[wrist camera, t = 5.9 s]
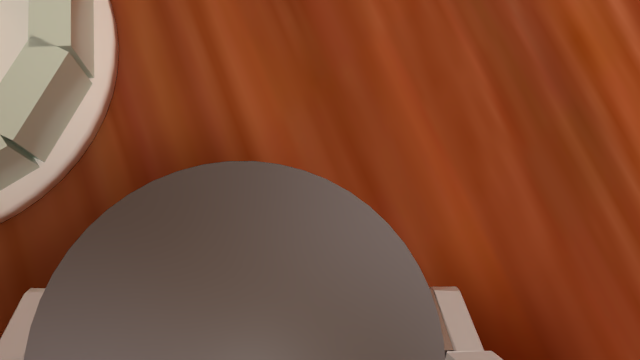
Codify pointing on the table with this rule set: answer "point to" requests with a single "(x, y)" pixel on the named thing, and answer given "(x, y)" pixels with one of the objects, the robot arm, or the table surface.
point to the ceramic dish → (51, 91)
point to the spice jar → (237, 276)
